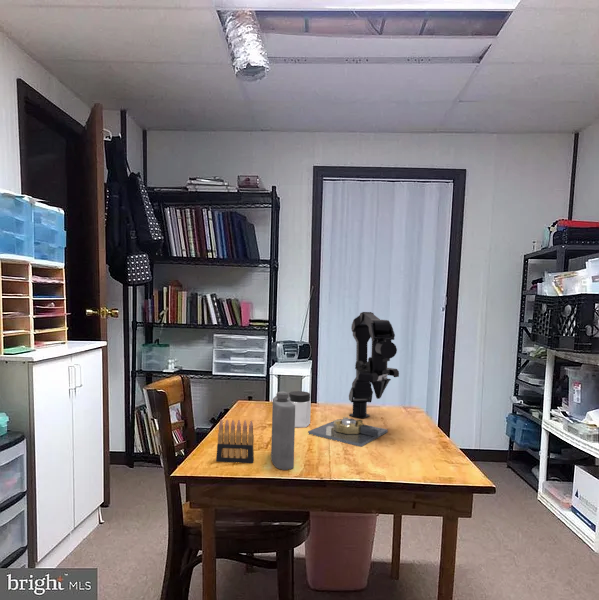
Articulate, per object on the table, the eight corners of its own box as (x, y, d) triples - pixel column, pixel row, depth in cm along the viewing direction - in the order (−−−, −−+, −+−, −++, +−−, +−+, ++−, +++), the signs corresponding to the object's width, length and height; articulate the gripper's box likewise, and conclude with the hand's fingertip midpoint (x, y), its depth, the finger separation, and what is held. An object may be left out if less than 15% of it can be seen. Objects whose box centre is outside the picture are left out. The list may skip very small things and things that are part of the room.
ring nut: (329, 430, 154) (329, 420, 154) (343, 424, 162) (343, 415, 162) (372, 439, 144) (373, 430, 144) (385, 433, 152) (385, 423, 152)
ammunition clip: (215, 461, 124) (217, 419, 124) (217, 459, 126) (218, 418, 126) (252, 463, 123) (254, 421, 123) (253, 460, 125) (254, 419, 125)
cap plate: (338, 421, 170) (338, 410, 170) (387, 432, 157) (387, 419, 157) (308, 433, 152) (308, 421, 152) (361, 446, 140) (361, 432, 140)
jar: (314, 425, 163) (315, 394, 163) (297, 429, 158) (298, 396, 158) (299, 420, 170) (300, 390, 170) (283, 423, 165) (284, 392, 165)
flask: (269, 452, 133) (270, 387, 133) (287, 451, 134) (289, 387, 134) (274, 470, 118) (276, 398, 118) (294, 470, 119) (297, 397, 119)
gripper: (374, 351, 166) (373, 391, 166) (345, 354, 153) (344, 398, 152) (400, 354, 159) (399, 396, 159) (372, 357, 145) (371, 404, 145)
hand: (378, 398), depth 154 cm, fingers closed
